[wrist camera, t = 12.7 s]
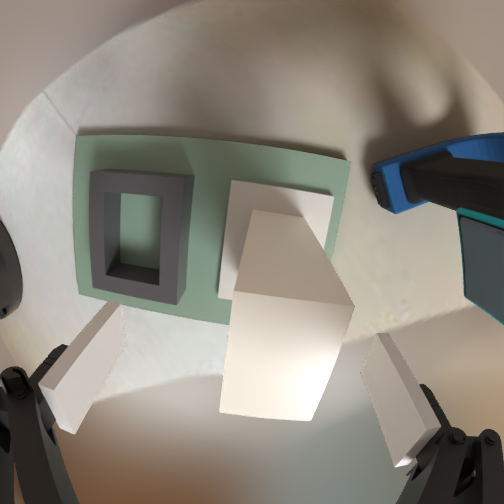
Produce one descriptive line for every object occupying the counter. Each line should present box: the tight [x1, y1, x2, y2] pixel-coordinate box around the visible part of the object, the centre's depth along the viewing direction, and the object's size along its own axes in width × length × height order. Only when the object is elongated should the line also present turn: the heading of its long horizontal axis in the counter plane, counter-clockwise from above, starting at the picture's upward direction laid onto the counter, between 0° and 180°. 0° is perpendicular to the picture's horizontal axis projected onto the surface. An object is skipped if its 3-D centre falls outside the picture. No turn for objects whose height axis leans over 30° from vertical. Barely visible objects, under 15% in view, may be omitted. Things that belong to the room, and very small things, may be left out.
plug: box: [219, 210, 355, 421], centre depth 17 cm, size 4×6×14 cm, turn 172°
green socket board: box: [73, 135, 351, 325], centre depth 23 cm, size 24×16×4 cm, turn 82°
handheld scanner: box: [371, 132, 504, 325], centre depth 13 cm, size 5×16×20 cm, turn 112°
